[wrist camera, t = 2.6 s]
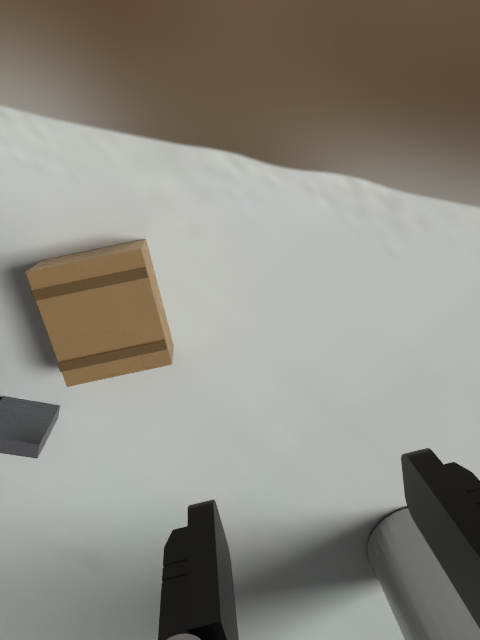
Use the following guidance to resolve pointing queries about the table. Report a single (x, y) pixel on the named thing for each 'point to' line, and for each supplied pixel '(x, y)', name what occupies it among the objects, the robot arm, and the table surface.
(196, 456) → the table surface
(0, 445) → the coupler dock
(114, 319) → the block
